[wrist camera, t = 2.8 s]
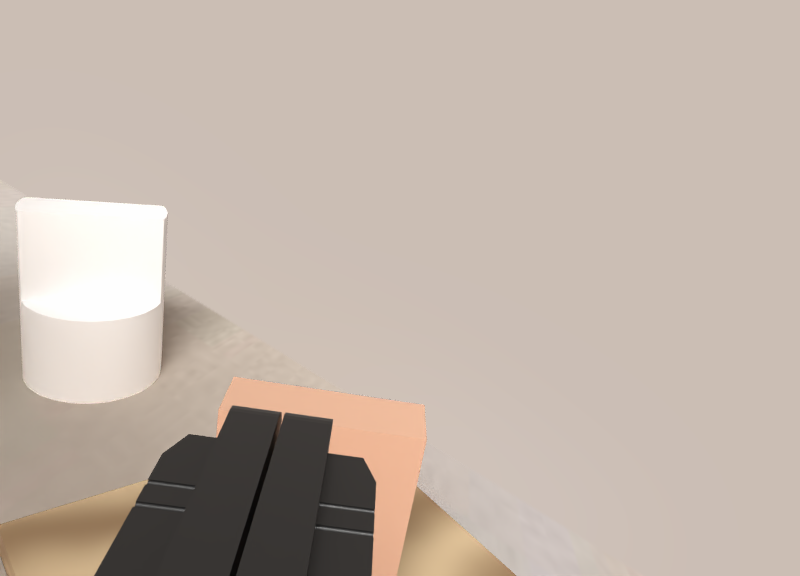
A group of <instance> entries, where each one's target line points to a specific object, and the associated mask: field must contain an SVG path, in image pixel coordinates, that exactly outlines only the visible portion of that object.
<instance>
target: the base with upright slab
mask: <svg viewBox="0 0 800 576" xmlns="http://www.w3.org/2000/svg"><path fill="white" fill-rule="evenodd" d="M15 211H16V235H17V258H18V281H19V304H20V327H21V351H22V374H23V381H24V382H25V384H26V385H27V387H28V388H29V389H31V390H32V391H34V392H35V393H36V394H38V395H40V396H43V397H46V398H49V399H51V400H55V401H61V402H67V403H81V404H93V403H103V402H111V401H115V400H119V399H123V398H127V397H130V396H132V395H135V394H137V393H140V392H142V391H144V390H145V389H146V388H148V387H149V386H151V385H152V384H153V383H154V382H155V381H156V380H157V378H158V377H159V375H160V371H161V359H162V336H163V313H164V290H165V267H166V243H167V221H168V212H167V210H166V209H165V207H163V206H156V205H140V204H125V203H109V202H94V201H78V200H62V199H47V198H31V197H23V198H21V199H20V200H19V201H18V202H17V203H16V205H15Z"/></svg>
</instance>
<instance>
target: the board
mask: <svg viewBox="0 0 800 576" xmlns="http://www.w3.org/2000/svg"><path fill="white" fill-rule="evenodd" d="M147 483H148V480H145V481H141V482H138V483H135V484H132V485H128V486H125V487H122V488H118V489H115V490H112V491H108V492H105V493H102V494H99V495H95V496H92V497H89V498H85V499H82V500H79V501H75V502H72V503H69V504H66V505H62V506H59V507H56V508H52V509H49V510H46V511H42V512H39V513H36V514H33V515H29V516H26V517H23V518H19V519H16V520H13V521H9V522H6V523H3V524H0V556H1V559H2V562H3V565H4V568H5V570H6V573H7V576H94V575H95V573H96V571H97V569H98V568H99V566H100V564H101V562H102V560H103V559H104V557H105V555H106V553H107V552H108V550H109V548H110V546H111V544H112V543H113V541H114V539H115V537H116V535H117V534H118V532H119V530H120V528H121V527H122V525H123V523H124V521H125V519H126V518H127V516H128V514H129V512H130V511H131V509H132V507H135V504H136V500H137V498H138V496H139V494H140V493H141V491H142V489H143V487H144V486H145V484H147ZM397 576H516V575H515V574H514V573H513V572H512V571H511V570H510V569H508V568H507V567H506V566H505V565H504V564H503V563H502V562H501V561H499V560H498V559H497V558H496V557H495V556H494V555H493V554H492V553H491V552H489V551H488V550H487V549H486V548H485V547H484V546H483V545H482V544H480V543H479V542H478V541H477V540H476V539H475V538H474V537H473V536H472V535H470V534H469V533H468V532H467V531H466V530H465V529H464V528H463V527H462V526H460V525H459V524H458V523H457V522H456V521H455V520H454V519H453V518H451V517H450V516H449V515H448V514H447V513H446V512H445V511H444V510H443V509H441V508H440V507H439V506H438V505H437V504H436V503H435V502H434V501H432V500H431V499H430V498H429V497H428V496H427V495H426V494H425V493H424V492H422V491H421V490H420V489H419V488H418V487H417V486H416V490H415V495H414V500H413V504H412V509H411V513H410V518H409V522H408V527H407V531H406V536H405V540H404V545H403V550H402V554H401V559H400V563H399V568H398V572H397Z"/></svg>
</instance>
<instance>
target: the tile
mask: <svg viewBox="0 0 800 576" xmlns="http://www.w3.org/2000/svg"><path fill="white" fill-rule="evenodd" d="M233 405H235V406H242V407H249V408H256V409H263V410H271V411H278V412H282V421H283V417H284V414H285V413H293V414H300V415H307V416H315V417H322V418H329V419H333V425H332V432H331V438H330V445H329V452H328V453H331V454H338V455H346V456H353V457H360V458H364V460H365V462H366V464H367V466H368V468H369V469H370V471H371V473H372V475H373V477H374V479H375V481H376V500H375V513H374V514H375V520H374V534H373V538H374V540H373V560H372V576H397V572H398V568H399V563H400V559H401V554H402V550H403V545H404V540H405V536H406V531H407V527H408V522H409V518H410V513H411V509H412V504H413V500H414V495H415V490H416V486H417V481H418V477H419V472H420V468H421V463H422V459H423V454H424V450H425V445H426V441H427V436H426V423H425V422H426V421H425V406H424V405H422V404H417V403H410V402H403V401H396V400H390V399H383V398H376V397H369V396H363V395H355V394H349V393H342V392H336V391H329V390H322V389H315V388H309V387H302V386H295V385H288V384H282V383H275V382H268V381H261V380H255V379H248V378H241V377H234V378H233V380H232V382H231V384H230V386H229V388H228V390H227V393H226V395H225V397H224V399H223V401H222V403H221V405H220V407H219V410H218V423H217V435H216V438H217V437H218V435H219V432H220V430H221V428H222V426H223V424H224V421H225V419H226V417H227V415H228V412H229V410H230V408H231V407H232V406H233Z"/></svg>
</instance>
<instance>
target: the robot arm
mask: <svg viewBox="0 0 800 576" xmlns="http://www.w3.org/2000/svg"><path fill="white" fill-rule="evenodd" d="M332 425H333V419H329V418H322V417H315V416H307V415H300V414H293V413H285V414H284V417H283V421H282V412H278V411H271V410H263V409H256V408H249V407H242V406H235V405H233V406H232V407H231V408H230V410H229V412H228V415H227V417H226V419H225V421H224V424H223V426H222V428H221V430H220V432H219V435H218V437H217V438H213V437H206V436H199V435H191V434H189V435H187V436H186V437H185V438H183V439H182V440H180V441H179V442H178V443H176V444H175V445H174V446H172V447H171V448H169V449H168V450H167V451H165V452H164V453H163V454H162V455H161V457H160V459H159V461H158V462H157V464H156V466H155V468H154V470H153V471H152V473H151V475H150V477H149V478H148V483H147V484H145V486H144V487H143V489H142V491H141V493H140V494H139V496H138V498H137V500H136V504H135V507H132V509H131V511H130V512H129V514H128V516H127V518H126V519H125V521H124V523H123V525H122V527H121V528H120V530H119V532H118V534H117V535H116V537H115V539H114V541H113V543H112V544H111V546H110V548H109V550H108V552H107V553H106V555H105V557H104V559H103V560H102V562H101V564H100V566H99V568H98V569H97V571H96V573H95V575H94V576H372V560H373V540H374V538H373V534H374V520H375V514H374V513H375V500H376V481H375V479H374V477H373V475H372V473H371V471H370V469H369V468H368V466H367V464H366V462H365V460H364V458H360V457H353V456H346V455H338V454H331V453H328V452H329V445H330V438H331V432H332Z"/></svg>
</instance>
